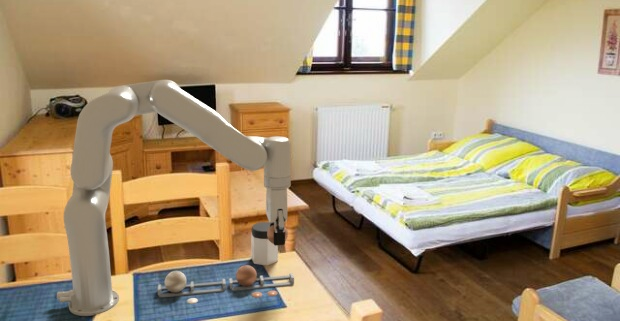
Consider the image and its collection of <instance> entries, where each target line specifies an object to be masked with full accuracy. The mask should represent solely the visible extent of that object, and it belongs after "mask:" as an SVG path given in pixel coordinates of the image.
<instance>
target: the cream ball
mask: <svg viewBox="0 0 620 321" xmlns="http://www.w3.org/2000/svg"><path fill="white" fill-rule="evenodd" d="M186 284H187V277H186V275H185V273H183V272H182V271H180V270H173V271H171V272H169V273H168V274H167V275H166V277H165V279H164V286H165V287H166V288H167V289H168V290H167V291H169V293H177V292H183V290H184V289H185V288H184V287H185V286H186Z"/></svg>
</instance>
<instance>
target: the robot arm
mask: <svg viewBox="0 0 620 321" xmlns="http://www.w3.org/2000/svg"><path fill="white" fill-rule="evenodd" d="M154 113H156V114H159V115H160V116H161V117H163V118H164V119H166V120H168V121H169V122H171V123H173V124H174V125H175V126H178V127H180V128H181V129H183V130H184V131H186V132H188V133H189V134H190V135H193V136H194V137H195V138H197V139H198V140H200V141H201V142H202V143H204V144H205V145H207V146H208V147H210V148H211V149H213V150H214V151H216V152H217V153H218V154H220V155H221V156H223V157H225V158H226V159H228V160H229V161H231V162H233V163H234V164H235V165H237V166H239V167H240V168H243V169H245V170H246V171H249V172H250V171H251V172H255V171H258V170H261V169H262V168H263V186H264V188H266V194H265V196H266V198H265V213H266V217H267V220H268V222H269V223H270V227H271V226H272V225H274V228H275V232H274V245H275V246H276V245H278V246H284V245H286V241H285V228H286V226H285V223H286V222H287V220H288V189H289V188H290V187H291V185H292V184H291V181H292V180H291V172H292V171H291V170H292V168H291V167H292V166H291V165H292V164H291V162H292V161H291V156H292V153H291V152H292V151H291V150H292V148H291V147H292V144H291V141H290V139H289V138H288V137H285V136H278V135H277V136H276V135H275V136H269V137H264V136H262V137H261V136H252V135H247V136H246V135H245V134H243V133H242V132H240V131H239V130H237V129H236V128H235V127H233V125H231V124H230V123H228V122H227V121H226V119H225V118H224V117H222V116H221V114H219V113H218V112H217V111H216V110H215V109H213V108H211V107H210V106H208V105H207V104H205V103H204V102H202V101H201V100H199V99H197V98H195V97H194V96H193V95H191V94H190V93H189V92H187V91H185V90H183V89H182V88H181V86H180V85H179V84H178V83H176V82H175V81H173V80H171V79H159V80H152V81H146V82H137V83H133V84H132V83H130V84H123V85H117V86H115V87H113V88H112V89H110V90H109V91H108V92H106V93H104V94H102V95H100V96H97V97H95V98H94V99H93V98H92V100H90V101H89V102H87V103H86V105H84V106H83V108H82V110H81V111H80V113H79V114H78V118H77V122H76V129H75V136H74V142H73V148H72V150H73V151H72V158H71V164H70V170H69V171H70V177H71V178H70V179H71V180H72V183H73V186H72V193H71V196H70V197H69V198H68V201H67V202H66V204H65V208H64V210H63V224H64V229H65V234H66V238H67V244H68V245H67V246H68V253H69V254H68V255H69V261H70V262H69V263H70V269H71V270H70V271H71V277H72V278H71V279H72V280H71V281H72V289H69V290H67V291H64V290H63V291H56V299H57V300H59V303H67V302H68V310H69V311H70V313H71V314H73V315H76V316H81V317H91V316H97V314H101V313H103V312H106V311H109V310H111V309H113V308H114V307H116V306H117V304H118V302H119V301H120V297H119V294H118V292H116V291H114V290H113V286H112V284H113V283H112V274H111V262H110V260H111V259H110V249H109V240H108V232H107V226H106V225H107V224H106V213H107V208H108V205H109V201H110V195H111V194H110V193H111V185H112V177H113V169H114V161H113V157H112V154H111V145H112V142H113V141H112V138H113V132H114V131H115V129H116V127H118V126H120V125H122V124H126V123H128V122H130V121H131V120H132V119H134V117H135V116H140V115H147V114H154ZM277 224H279V226H277Z"/></svg>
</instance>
